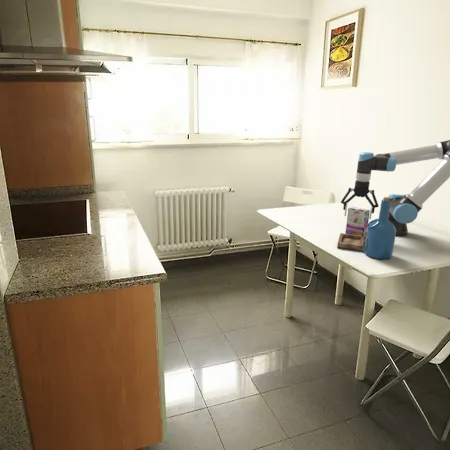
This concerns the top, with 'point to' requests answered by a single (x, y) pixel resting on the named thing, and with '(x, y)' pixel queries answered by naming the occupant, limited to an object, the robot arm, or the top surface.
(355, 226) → the candy bar box
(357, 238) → the tray
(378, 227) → the wine bottle
